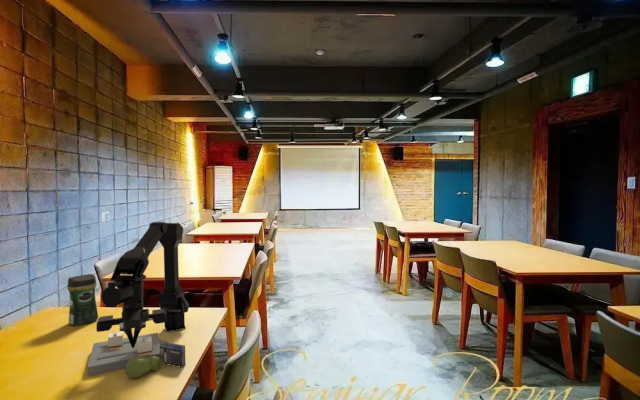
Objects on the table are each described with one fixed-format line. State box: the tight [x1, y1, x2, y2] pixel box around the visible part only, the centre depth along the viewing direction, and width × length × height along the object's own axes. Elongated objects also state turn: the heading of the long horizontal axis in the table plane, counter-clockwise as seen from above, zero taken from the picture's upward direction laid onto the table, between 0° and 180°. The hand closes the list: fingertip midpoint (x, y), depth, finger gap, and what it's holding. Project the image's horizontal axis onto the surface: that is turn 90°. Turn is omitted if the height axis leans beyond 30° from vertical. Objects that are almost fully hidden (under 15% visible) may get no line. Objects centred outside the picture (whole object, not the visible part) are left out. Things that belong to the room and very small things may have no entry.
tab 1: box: [107, 330, 124, 347], centre depth 119 cm, size 4×4×4 cm
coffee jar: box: [66, 273, 99, 326], centre depth 146 cm, size 10×8×19 cm
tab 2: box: [137, 336, 152, 353], centre depth 114 cm, size 4×4×4 cm
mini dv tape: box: [159, 341, 187, 368], centre depth 110 cm, size 8×2×6 cm, turn 69°
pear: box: [124, 356, 162, 379], centre depth 105 cm, size 6×5×10 cm
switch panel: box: [86, 332, 160, 377], centre depth 116 cm, size 19×18×3 cm
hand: (133, 347), depth 113 cm, fingers closed
